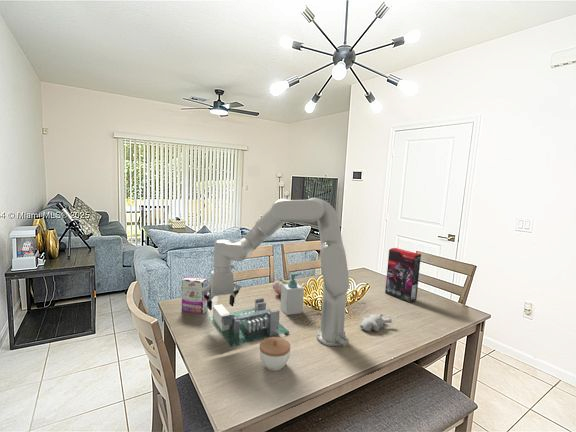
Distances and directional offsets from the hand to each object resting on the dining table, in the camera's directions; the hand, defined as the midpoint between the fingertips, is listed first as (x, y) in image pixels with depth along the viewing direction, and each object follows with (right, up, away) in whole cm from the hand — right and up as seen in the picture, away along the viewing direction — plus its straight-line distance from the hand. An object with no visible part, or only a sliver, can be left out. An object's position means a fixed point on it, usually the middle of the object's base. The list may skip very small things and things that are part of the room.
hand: (220, 306), depth 131 cm
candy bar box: (-15, -7, +13) cm, 21 cm away
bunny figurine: (+68, -12, +7) cm, 70 cm away
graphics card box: (+94, -8, +45) cm, 105 cm away
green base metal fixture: (+11, -9, +2) cm, 15 cm away
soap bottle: (+31, -8, +20) cm, 37 cm away
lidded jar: (+24, -13, -25) cm, 37 cm away
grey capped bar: (+12, -3, -5) cm, 14 cm away
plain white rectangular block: (0, -8, +1) cm, 8 cm away
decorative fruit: (+25, -5, +38) cm, 46 cm away
